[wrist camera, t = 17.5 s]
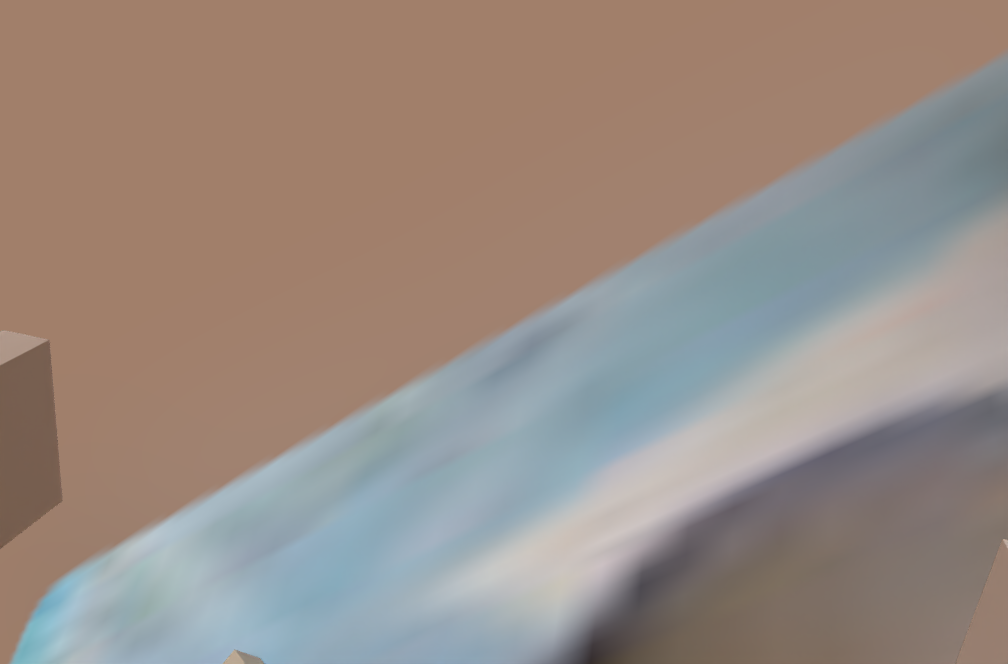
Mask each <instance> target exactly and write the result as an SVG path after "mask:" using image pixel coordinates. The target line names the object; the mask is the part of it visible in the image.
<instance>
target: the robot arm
mask: <svg viewBox="0 0 1008 664" xmlns="http://www.w3.org/2000/svg"><path fill="white" fill-rule="evenodd" d="M60 502H62V489H61V477H60V466H59V453H58V440H57V428H56V415H55V403H54V392H53V379H52V367H51V354H50V343H49V340H48V339H43V338H38V337H33V336H29V335H24V334H19V333H14V332H10V331H5V330H2V331H0V549H1V548H2V547H3V546H4V545H6V544H7V543H9V542H10V541H11V540H13V539H14V538H15V537H16V536H17V535H19V534H20V533H22V532H23V531H24V530H25V529H27V528H28V527H29V526H31V525H32V524H33V523H34V522H36V521H37V520H38V519H40V518H41V517H42V516H43V515H45V514H46V513H47V512H49V511H50V510H51V509H53V508H54V507H55V506H56V505H58V504H59V503H60ZM955 664H1008V540H1005V539H1002V542H1001V545H1000V547H999V550H998V553H997V555H996V558H995V560H994V563H993V566H992V568H991V571H990V574H989V576H988V579H987V582H986V584H985V587H984V589H983V592H982V595H981V597H980V600H979V603H978V605H977V608H976V611H975V613H974V616H973V619H972V621H971V624H970V626H969V629H968V632H967V634H966V637H965V640H964V642H963V645H962V648H961V650H960V653H959V655H958V658H957V661H956V663H955Z"/></svg>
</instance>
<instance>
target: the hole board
mask: <svg viewBox="0 0 1008 664" xmlns="http://www.w3.org/2000/svg"><path fill="white" fill-rule="evenodd" d="M223 664H264V663H263V662H262V660H261V659H260V658H257V657H255V656H252V655H249V654H246V653H243V652H240V651H238V650H234V651H233V652H232V653H231V655H230V656H229V657H228V658H227V659H226V661H225V662H224V663H223Z"/></svg>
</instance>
